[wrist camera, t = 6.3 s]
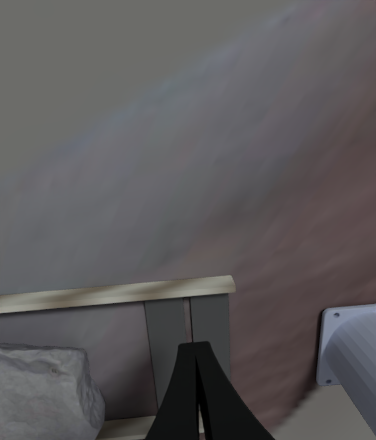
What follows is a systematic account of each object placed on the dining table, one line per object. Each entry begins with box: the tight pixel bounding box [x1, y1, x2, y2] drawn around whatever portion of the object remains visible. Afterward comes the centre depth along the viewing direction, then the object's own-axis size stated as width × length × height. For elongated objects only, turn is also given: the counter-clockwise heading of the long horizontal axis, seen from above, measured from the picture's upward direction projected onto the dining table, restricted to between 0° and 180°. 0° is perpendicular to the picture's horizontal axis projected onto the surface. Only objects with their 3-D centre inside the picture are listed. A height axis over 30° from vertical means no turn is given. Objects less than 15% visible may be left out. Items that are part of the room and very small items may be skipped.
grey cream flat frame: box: [0, 275, 236, 440], centre depth 23 cm, size 24×14×2 cm, turn 94°
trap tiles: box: [144, 293, 230, 410], centre depth 24 cm, size 7×12×1 cm, turn 4°
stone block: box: [0, 343, 106, 440], centre depth 23 cm, size 12×5×10 cm
